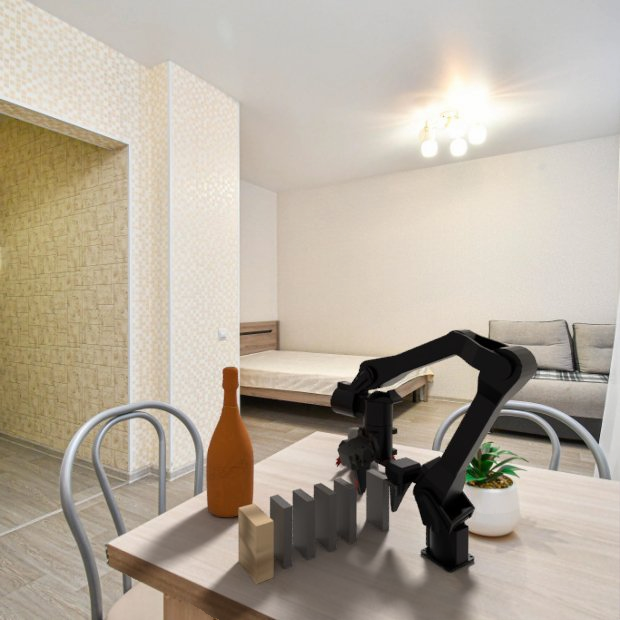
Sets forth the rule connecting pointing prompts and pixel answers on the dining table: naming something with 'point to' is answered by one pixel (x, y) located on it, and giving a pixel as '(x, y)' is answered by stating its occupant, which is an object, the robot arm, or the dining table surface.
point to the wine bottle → (229, 456)
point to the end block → (256, 542)
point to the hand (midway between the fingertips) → (377, 501)
